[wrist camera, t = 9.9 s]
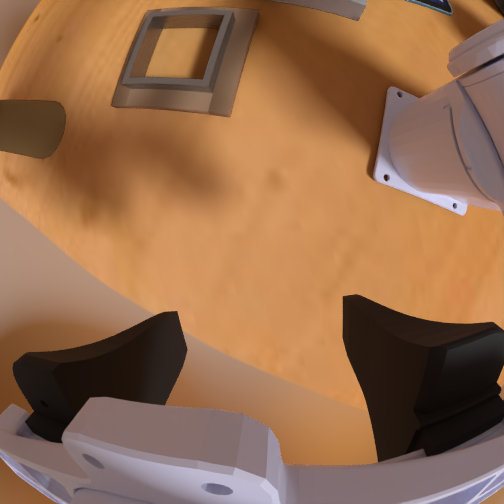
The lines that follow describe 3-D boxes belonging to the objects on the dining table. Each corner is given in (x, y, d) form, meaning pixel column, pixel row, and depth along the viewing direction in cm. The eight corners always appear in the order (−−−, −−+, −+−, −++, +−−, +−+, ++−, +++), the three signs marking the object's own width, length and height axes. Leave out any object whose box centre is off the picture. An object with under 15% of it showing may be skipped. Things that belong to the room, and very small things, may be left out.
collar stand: (259, 14, 15) (257, -1, 13) (230, 117, 18) (224, 109, 16) (150, 14, 16) (140, 2, 13) (116, 108, 18) (101, 102, 16)
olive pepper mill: (28, 163, 20) (-53, 167, 9) (33, 109, 18) (-43, 98, 8) (63, 154, 19) (-31, 152, 9) (69, 94, 18) (-15, 71, 7)
